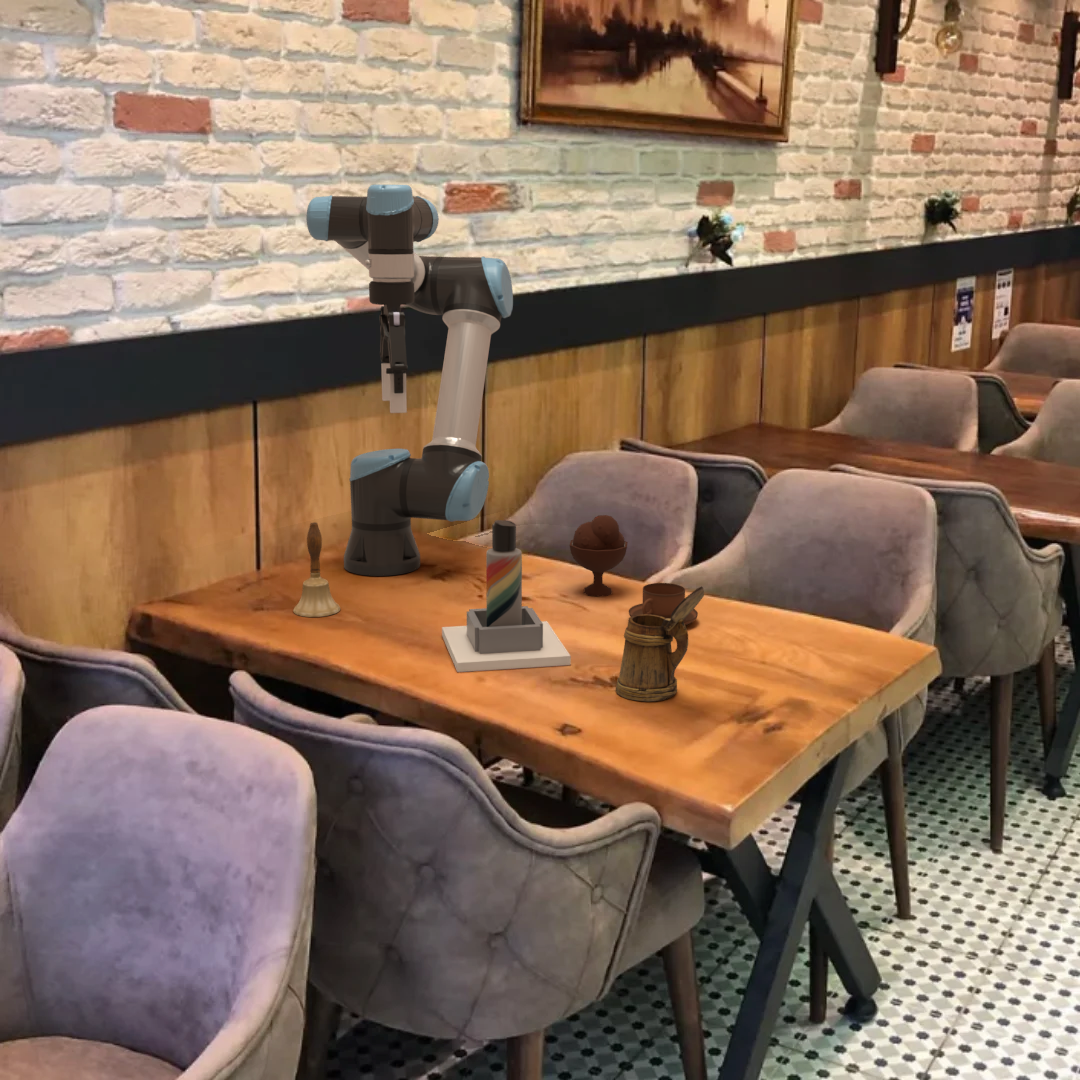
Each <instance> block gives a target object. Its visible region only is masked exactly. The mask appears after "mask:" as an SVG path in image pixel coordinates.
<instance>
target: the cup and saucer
mask: <svg viewBox="0 0 1080 1080" xmlns="http://www.w3.org/2000/svg"><path fill="white" fill-rule="evenodd" d="M685 598H686V588H685V586H682V585H680V584H675V583H672V582H671V583H670V582H654V583H653V582H652V583H649V584H646V585H644V586H643V587H642V602H641V603H638V604H635V605H633V606H631V607H630V608H629V609H628V616H629V618H630V617H632V616H634V615H642V614H651V615H658V616H662V617H665V618H669V619H671V614H672V612H673V611H674V609H675V608H676V607H677V606H678V605H679V604H680V603H681V602H682V601H683V600H684V599H685ZM698 615H699V613H698V611H697V609H696V608H694V609H693V610H692V611H691V612H690V613H689V614H688V615H687V616H686V618H685V619H684V620H683V621H684V624H685V626H687V625H690V624H691V623H694V621H696V620H697V618H698Z"/></svg>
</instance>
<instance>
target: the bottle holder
mask: <svg viewBox="0 0 1080 1080" xmlns="http://www.w3.org/2000/svg"><path fill="white" fill-rule="evenodd" d="M441 636H442V639H443V642H444V644H445V646H446V649H447V651H448V653H449V655H450V659H451V661H452V662H453V663H452V664H453V665H454V668H455V670H456V672H457V673H465V672H478V671H479V672H481V671H497V670H510V669H511V670H512V669H513V670H514V669H525V668H526V669H529V668H540V667H541V668H542V667H543V668H545V667H559V666H571V663H572V662H571V660H572V659H571V653H569V651H568V650H567V649H566V647H565V645H564V644H563V642H562V641H561V640H560V639H559V637H558V635H557V634H556V633H555V630H553V627H552V626H551V625H550V623H549V622H548V621H547V620H545V621H542V620H541V619H540V617H539V616H538V614H537V613H536V611H535V610H534V609H533V607H529V606H528V605H525V606H523V605H522V625H514V626H497V627H487V611H486V607H483V608H470V609H469V610H468V611H466V625H457V626H441Z"/></svg>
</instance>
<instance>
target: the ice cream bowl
mask: <svg viewBox="0 0 1080 1080" xmlns="http://www.w3.org/2000/svg"><path fill="white" fill-rule="evenodd" d="M628 542H629V541H626V540H625V538H624V535H623V533H622V532H620V526H619V524H618V521H617V520H616V519H615V518H614V517H613V516H611V515H607V514H603V515H597V516H595V517H594V518H593V519H592V520H591V521H587V522H584V523H582V524H580V525H579V526H578V527H577V529H576V530H575V531H574V535H573V539H572V540H570V542H569V549H570V550H569V551H570V554H571V556H572V558H573V560H574V561H575V562H576V563H577V564H578V565H579V566H581V567H582V568H584V569H586V570H588V571H590V572H592V576H593V579H592V580H593V581H592V582H593V583H591V584H589V585H587V586H585V587H584V589H583V592H582V593H583V594H584V595H587V596H591V597H607V596H610V595H612V594H613V590H612V588H611V587H609V586H607V585H606V584H604V583H603V582H604V581H603V579H604V578H603V576H604V574H605V572H608V571H610V570H613V569H614V568H616V567H617V566H618V565H619V564H620V563H622V561H623V560H624V559H625V558H624V557H625V556H626V553H627V549H628Z"/></svg>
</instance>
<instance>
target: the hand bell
mask: <svg viewBox="0 0 1080 1080" xmlns="http://www.w3.org/2000/svg"><path fill="white" fill-rule="evenodd" d="M308 528H309V529H308V531H307V536H306V544H307V545H306V546H307V551H308V553H309V557H310V571H309V572H310V573H309V574H310V575H309V576H310V577H309V578H307V579H306V580H304V581H303V583H302V591H301V597H300V599H299V601H298V603H297V604H296V605H295V606H294V608H293V613H294V614H295V615H297V616H301V617H303V618H304V617H306V618H320V617H321V618H322V617H328V616H332V615H335V614H337V613H339V612H340V610H341V607H340V605H339V603H337V602H336V601H335V599H334V598H333V595H332V593H331V590H330V585H329V581H328V579H326V578H324V577H322V576H321V566H320V556H321V553H322V547H323V546H322V545H323V544H322V543H323V538H322V533H321V530H320V527H319V524H318V522H310V524H309V527H308Z"/></svg>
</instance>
